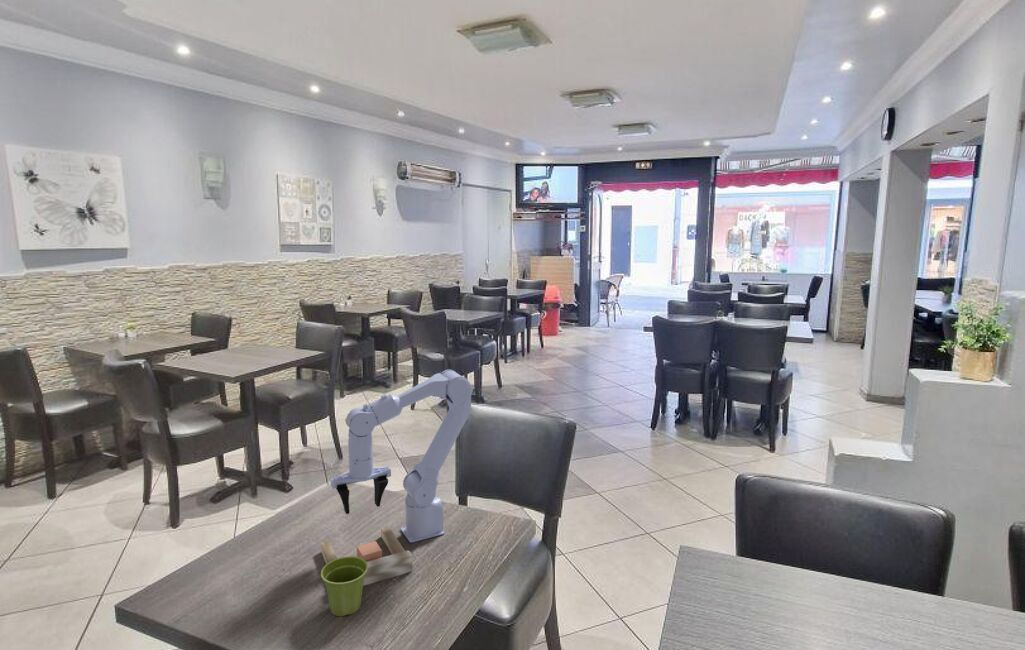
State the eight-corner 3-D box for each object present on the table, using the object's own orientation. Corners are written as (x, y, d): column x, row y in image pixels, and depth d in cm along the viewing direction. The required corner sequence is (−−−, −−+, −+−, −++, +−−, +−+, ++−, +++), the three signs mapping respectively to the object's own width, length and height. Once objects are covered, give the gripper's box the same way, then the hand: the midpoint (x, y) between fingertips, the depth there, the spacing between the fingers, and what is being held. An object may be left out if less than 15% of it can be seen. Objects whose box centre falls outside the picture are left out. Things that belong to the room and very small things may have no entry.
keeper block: (376, 562, 130) (375, 541, 129) (382, 572, 126) (381, 550, 125) (357, 568, 127) (356, 546, 126) (363, 578, 123) (362, 555, 123)
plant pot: (377, 598, 116) (376, 561, 115) (351, 627, 107) (349, 587, 106) (341, 589, 119) (339, 552, 118) (312, 616, 110) (310, 577, 109)
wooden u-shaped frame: (388, 534, 142) (388, 520, 141) (412, 571, 126) (412, 555, 126) (321, 551, 134) (320, 536, 133) (337, 593, 118) (337, 576, 117)
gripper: (384, 446, 141) (385, 495, 142) (326, 456, 133) (328, 508, 135) (393, 455, 135) (394, 506, 137) (333, 466, 127) (335, 521, 129)
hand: (362, 508), depth 135 cm, fingers open, 7 cm apart
